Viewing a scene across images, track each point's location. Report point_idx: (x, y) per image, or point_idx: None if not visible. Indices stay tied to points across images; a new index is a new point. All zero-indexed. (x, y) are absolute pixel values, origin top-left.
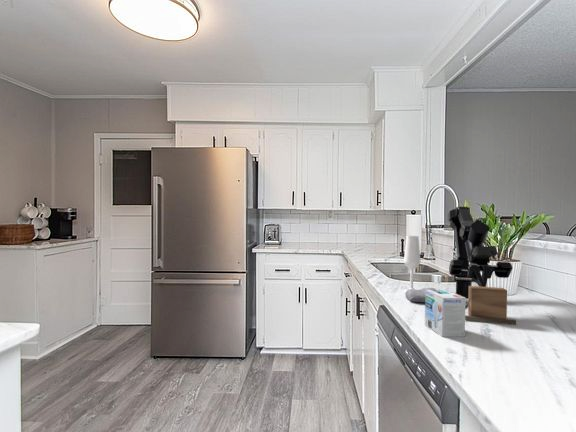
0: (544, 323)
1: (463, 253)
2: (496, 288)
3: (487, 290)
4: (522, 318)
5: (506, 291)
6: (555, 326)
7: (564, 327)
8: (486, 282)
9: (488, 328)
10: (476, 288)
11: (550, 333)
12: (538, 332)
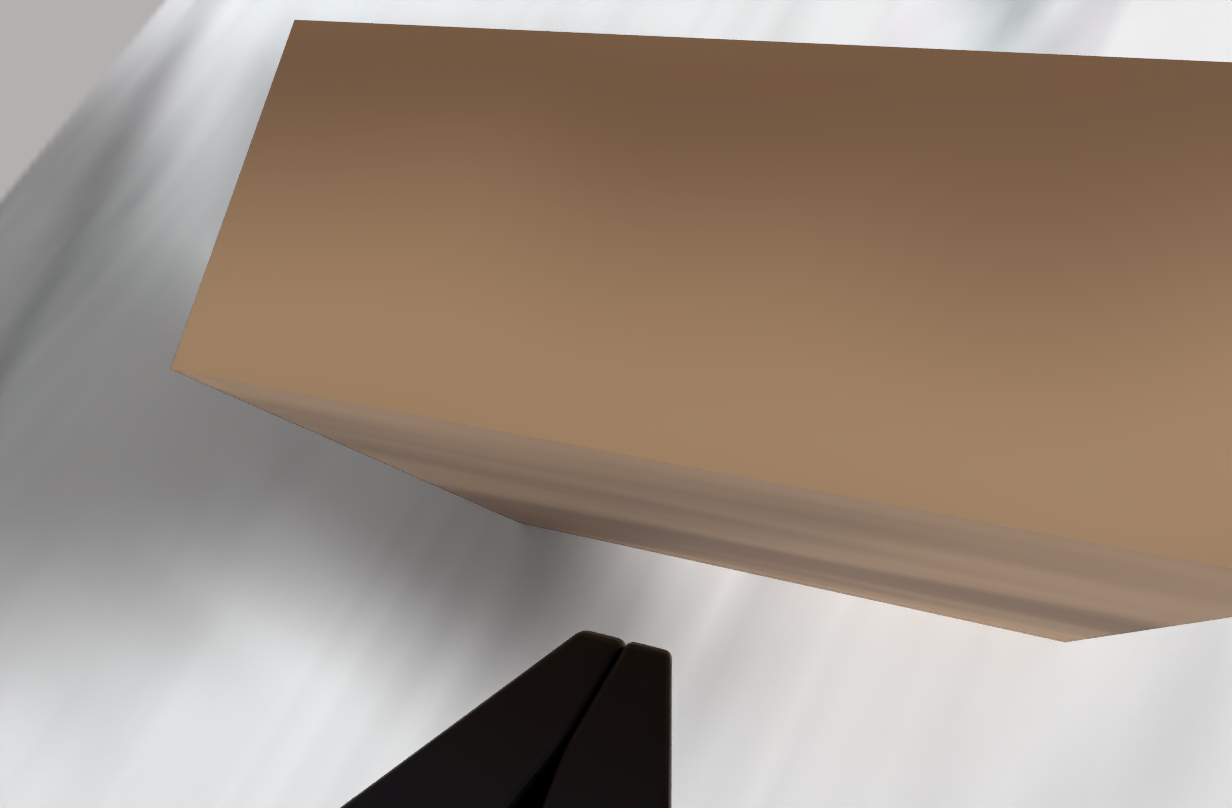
0: (104, 373)
1: None
2: (425, 234)
3: (808, 67)
4: (208, 579)
5: (323, 44)
6: (78, 271)
7: (16, 251)
8: (414, 762)
9: (993, 9)
10: (1193, 69)
11: (324, 6)
12: (428, 8)
